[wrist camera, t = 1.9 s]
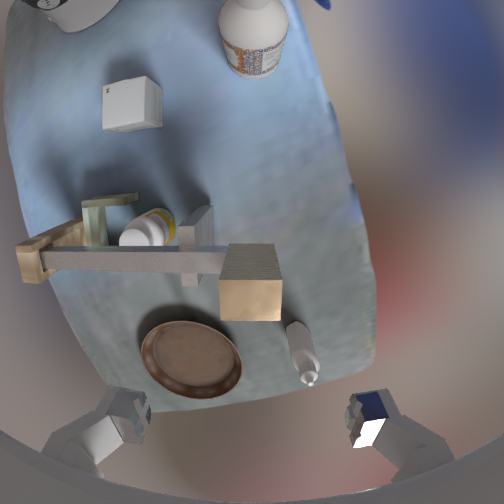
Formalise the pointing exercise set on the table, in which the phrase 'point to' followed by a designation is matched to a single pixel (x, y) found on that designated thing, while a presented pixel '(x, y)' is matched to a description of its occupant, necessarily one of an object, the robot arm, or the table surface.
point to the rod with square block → (192, 266)
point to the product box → (132, 105)
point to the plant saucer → (191, 360)
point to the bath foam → (253, 35)
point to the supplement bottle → (149, 229)
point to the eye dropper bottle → (302, 352)
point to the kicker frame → (70, 235)
